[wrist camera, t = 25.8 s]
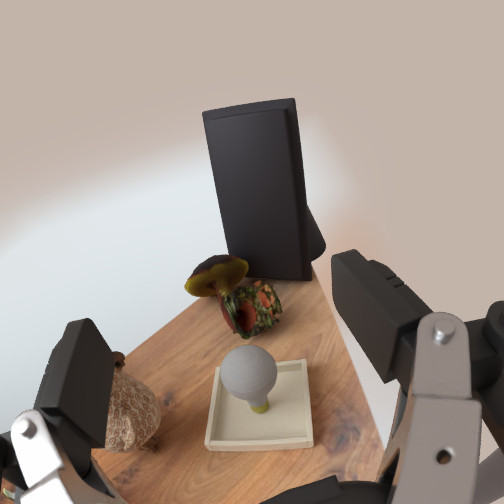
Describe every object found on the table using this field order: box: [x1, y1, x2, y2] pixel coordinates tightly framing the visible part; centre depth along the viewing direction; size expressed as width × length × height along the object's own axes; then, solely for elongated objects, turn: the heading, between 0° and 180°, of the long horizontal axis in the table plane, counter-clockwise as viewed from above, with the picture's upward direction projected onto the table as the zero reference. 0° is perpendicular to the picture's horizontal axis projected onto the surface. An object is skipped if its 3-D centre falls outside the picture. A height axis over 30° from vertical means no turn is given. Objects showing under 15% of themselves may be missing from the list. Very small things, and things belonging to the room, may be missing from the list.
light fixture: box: [202, 98, 326, 281], centre depth 53 cm, size 17×21×30 cm
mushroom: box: [185, 255, 282, 339], centre depth 46 cm, size 12×12×15 cm
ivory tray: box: [204, 359, 314, 452], centre depth 30 cm, size 11×11×2 cm
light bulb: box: [220, 345, 277, 413], centre depth 28 cm, size 6×6×10 cm
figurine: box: [100, 351, 161, 453], centre depth 25 cm, size 9×10×15 cm
